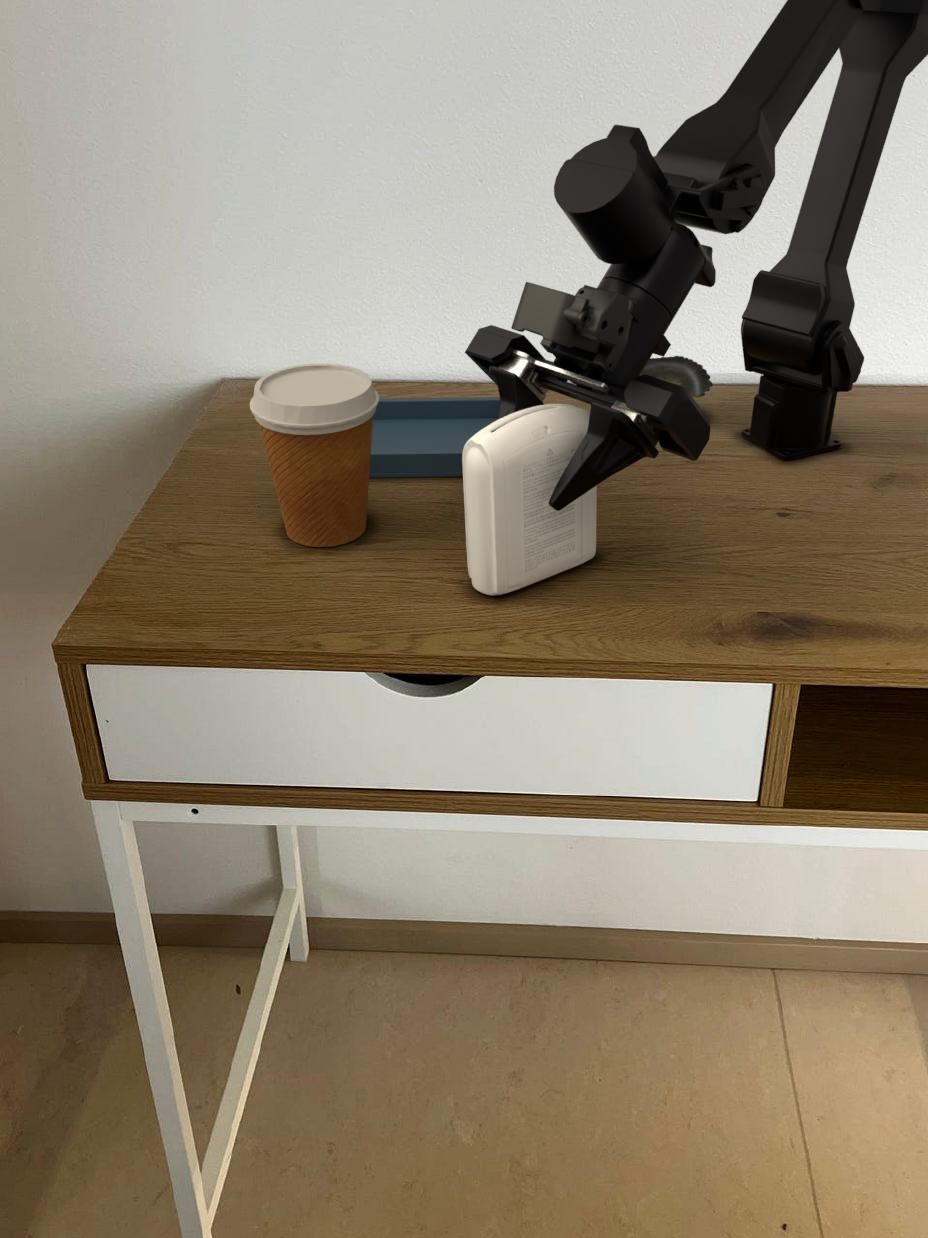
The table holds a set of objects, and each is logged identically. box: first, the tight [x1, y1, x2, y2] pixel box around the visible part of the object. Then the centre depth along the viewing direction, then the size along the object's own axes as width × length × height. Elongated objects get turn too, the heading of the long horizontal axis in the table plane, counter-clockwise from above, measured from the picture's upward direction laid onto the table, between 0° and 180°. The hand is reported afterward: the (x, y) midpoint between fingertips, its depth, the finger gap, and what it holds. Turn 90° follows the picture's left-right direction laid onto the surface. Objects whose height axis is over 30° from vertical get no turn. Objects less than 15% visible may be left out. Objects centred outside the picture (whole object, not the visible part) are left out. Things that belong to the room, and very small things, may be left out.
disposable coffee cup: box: [249, 363, 380, 548], centre depth 87 cm, size 10×10×12 cm
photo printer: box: [462, 403, 598, 597], centre depth 81 cm, size 10×4×12 cm, turn 126°
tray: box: [369, 396, 500, 479], centre depth 103 cm, size 18×13×2 cm
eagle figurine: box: [640, 355, 714, 398], centre depth 106 cm, size 8×7×9 cm
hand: (521, 493), depth 79 cm, fingers closed on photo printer, 5 cm apart
